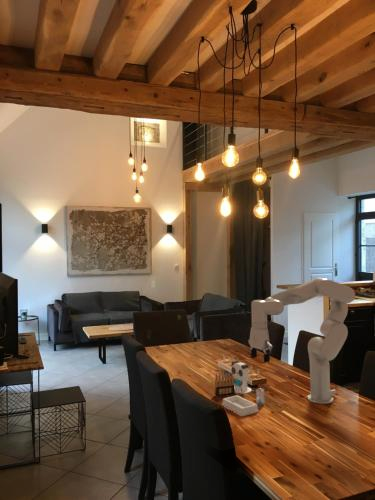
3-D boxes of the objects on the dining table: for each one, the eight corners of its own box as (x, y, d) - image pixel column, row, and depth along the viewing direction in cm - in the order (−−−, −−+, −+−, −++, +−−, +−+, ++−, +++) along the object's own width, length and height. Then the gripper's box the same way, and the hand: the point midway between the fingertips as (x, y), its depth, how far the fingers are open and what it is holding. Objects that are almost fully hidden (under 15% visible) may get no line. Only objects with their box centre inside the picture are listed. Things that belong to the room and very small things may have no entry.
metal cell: (261, 402, 216) (260, 386, 216) (266, 404, 213) (265, 388, 212) (254, 404, 214) (254, 388, 214) (259, 406, 211) (259, 390, 211)
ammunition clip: (233, 393, 230) (233, 371, 230) (235, 394, 228) (234, 372, 228) (214, 395, 228) (214, 373, 228) (215, 396, 226) (215, 374, 226)
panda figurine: (226, 388, 238) (225, 361, 238) (243, 385, 244) (242, 358, 244) (238, 395, 228) (237, 366, 228) (255, 391, 233) (254, 363, 233)
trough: (238, 401, 218) (238, 395, 218) (258, 411, 204) (258, 404, 204) (222, 405, 213) (221, 398, 213) (241, 416, 199) (241, 409, 199)
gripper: (242, 323, 217) (243, 357, 218) (265, 328, 203) (266, 364, 203) (254, 322, 221) (255, 355, 221) (277, 326, 206) (277, 362, 206)
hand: (260, 359), depth 212 cm, fingers open, 9 cm apart
